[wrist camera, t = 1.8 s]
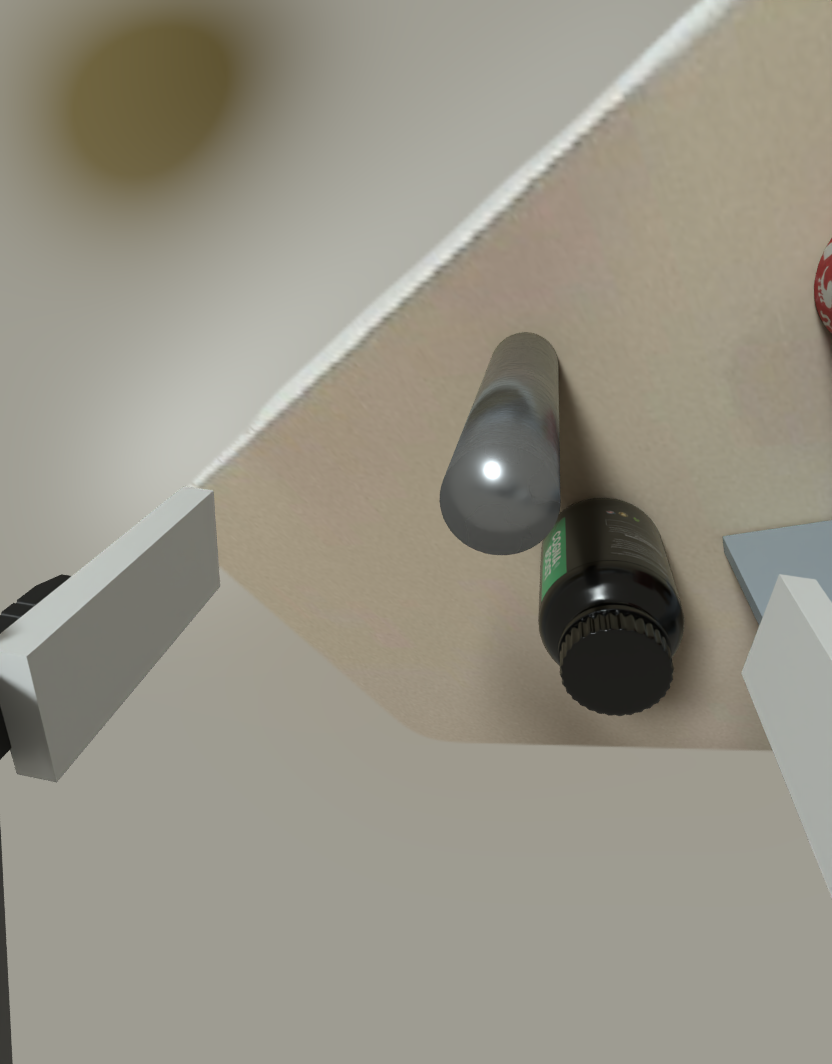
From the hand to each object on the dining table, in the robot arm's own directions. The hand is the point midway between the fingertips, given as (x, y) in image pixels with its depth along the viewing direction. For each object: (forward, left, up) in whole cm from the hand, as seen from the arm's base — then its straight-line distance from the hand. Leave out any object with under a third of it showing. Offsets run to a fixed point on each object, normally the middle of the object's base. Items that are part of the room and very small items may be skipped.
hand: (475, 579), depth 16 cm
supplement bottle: (-6, +10, -23) cm, 26 cm away
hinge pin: (0, 0, -23) cm, 23 cm away
